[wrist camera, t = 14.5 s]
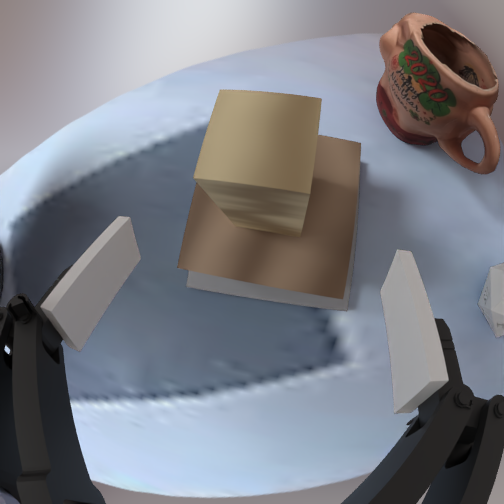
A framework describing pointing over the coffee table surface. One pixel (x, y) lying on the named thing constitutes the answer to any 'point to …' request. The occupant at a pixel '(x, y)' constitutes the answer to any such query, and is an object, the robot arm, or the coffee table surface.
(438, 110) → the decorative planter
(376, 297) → the coffee table surface
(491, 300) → the die
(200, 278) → the square socket base
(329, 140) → the wooden t-shaped block
